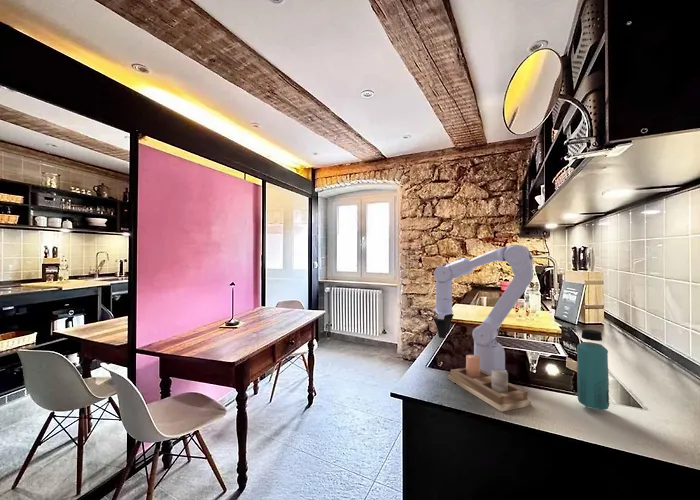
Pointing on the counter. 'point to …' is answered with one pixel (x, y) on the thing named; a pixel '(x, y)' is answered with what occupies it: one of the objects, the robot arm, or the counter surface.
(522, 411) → the counter surface
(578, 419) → the counter surface
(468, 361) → the peach rounded capsule
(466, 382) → the socket holder
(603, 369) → the beverage bottle
